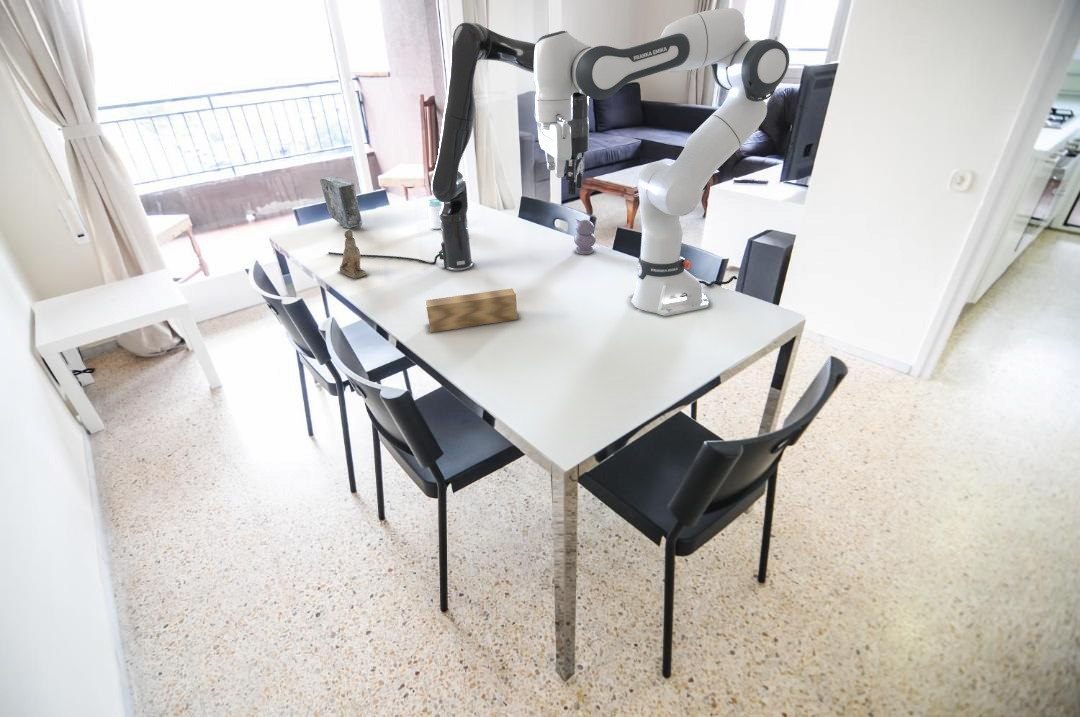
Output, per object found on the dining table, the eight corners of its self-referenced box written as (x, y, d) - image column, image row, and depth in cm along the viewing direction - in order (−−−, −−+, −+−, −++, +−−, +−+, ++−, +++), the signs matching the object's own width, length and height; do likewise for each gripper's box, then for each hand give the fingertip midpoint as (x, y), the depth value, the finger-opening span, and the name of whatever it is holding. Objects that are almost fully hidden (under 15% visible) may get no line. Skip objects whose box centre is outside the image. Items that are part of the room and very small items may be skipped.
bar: (430, 332, 138) (426, 306, 134) (429, 325, 142) (425, 300, 138) (517, 319, 143) (515, 294, 139) (514, 312, 147) (512, 288, 143)
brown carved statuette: (368, 281, 178) (362, 235, 166) (353, 285, 175) (347, 238, 163) (352, 266, 184) (346, 221, 172) (338, 270, 181) (331, 224, 169)
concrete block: (367, 229, 224) (357, 183, 213) (347, 233, 220) (336, 187, 209) (348, 217, 243) (338, 174, 232) (330, 221, 238) (318, 177, 228)
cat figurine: (599, 250, 190) (600, 219, 183) (587, 256, 185) (587, 224, 178) (582, 246, 195) (582, 215, 188) (569, 251, 190) (569, 220, 184)
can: (445, 229, 220) (441, 202, 214) (429, 230, 220) (425, 202, 214) (447, 224, 226) (444, 198, 220) (432, 225, 226) (428, 198, 220)
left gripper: (569, 130, 152) (568, 185, 161) (557, 137, 141) (558, 196, 149) (593, 131, 151) (591, 186, 159) (583, 138, 139) (582, 197, 148)
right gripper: (578, 116, 110) (578, 180, 118) (557, 108, 127) (558, 165, 135) (550, 118, 109) (552, 183, 117) (533, 110, 126) (535, 167, 134)
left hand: (575, 190), depth 154 cm, fingers open, 8 cm apart
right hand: (555, 173), depth 126 cm, fingers open, 8 cm apart
